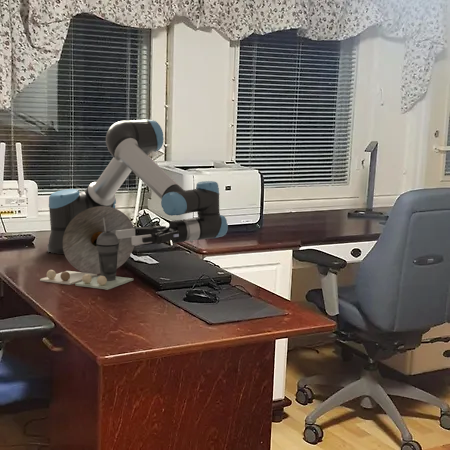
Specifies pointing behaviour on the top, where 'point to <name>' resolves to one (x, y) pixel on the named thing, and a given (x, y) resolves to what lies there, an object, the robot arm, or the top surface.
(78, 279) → the cream card
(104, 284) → the sage card
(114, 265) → the beverage cup
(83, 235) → the disc
